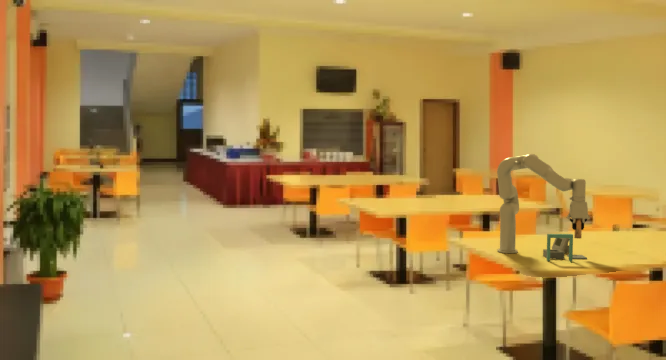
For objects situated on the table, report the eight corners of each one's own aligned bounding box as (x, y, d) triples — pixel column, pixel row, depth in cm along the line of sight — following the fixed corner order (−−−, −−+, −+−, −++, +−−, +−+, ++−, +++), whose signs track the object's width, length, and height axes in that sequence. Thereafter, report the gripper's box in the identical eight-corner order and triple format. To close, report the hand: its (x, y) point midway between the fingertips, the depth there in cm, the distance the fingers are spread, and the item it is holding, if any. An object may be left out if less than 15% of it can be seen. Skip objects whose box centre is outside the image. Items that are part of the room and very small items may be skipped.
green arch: (546, 260, 409) (547, 233, 408) (570, 260, 409) (571, 233, 407) (547, 261, 406) (548, 234, 405) (572, 261, 406) (573, 234, 404)
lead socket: (543, 255, 425) (543, 249, 425) (559, 255, 425) (559, 249, 424) (547, 258, 415) (547, 252, 415) (564, 258, 415) (564, 252, 414)
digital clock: (551, 249, 447) (551, 233, 446) (565, 250, 446) (566, 233, 445) (556, 254, 431) (556, 237, 430) (571, 254, 430) (571, 237, 429)
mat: (567, 256, 424) (567, 254, 424) (581, 256, 424) (581, 254, 424) (571, 259, 414) (572, 257, 414) (587, 259, 414) (587, 257, 414)
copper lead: (573, 237, 420) (573, 217, 419) (580, 237, 420) (580, 217, 419) (575, 238, 416) (575, 218, 415) (582, 238, 416) (582, 218, 415)
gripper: (566, 200, 413) (565, 230, 414) (594, 200, 413) (594, 230, 414) (562, 198, 421) (562, 228, 422) (590, 198, 420) (590, 228, 421)
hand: (578, 229), depth 418 cm, fingers closed on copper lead, 4 cm apart
